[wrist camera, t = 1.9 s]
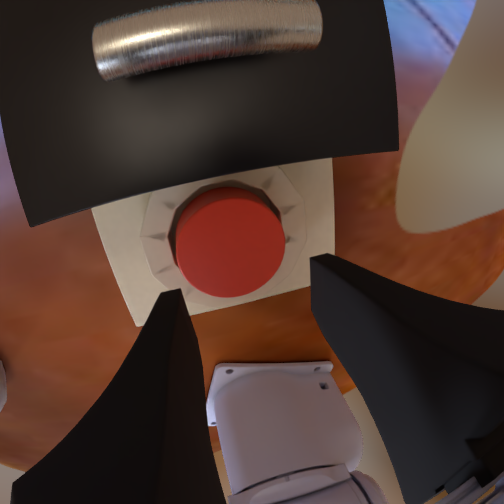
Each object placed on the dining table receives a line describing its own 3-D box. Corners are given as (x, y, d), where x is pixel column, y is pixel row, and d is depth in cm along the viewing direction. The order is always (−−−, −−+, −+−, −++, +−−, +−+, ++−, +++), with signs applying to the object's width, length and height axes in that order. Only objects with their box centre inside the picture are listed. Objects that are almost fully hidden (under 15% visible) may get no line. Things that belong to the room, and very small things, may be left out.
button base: (327, 271, 19) (348, 295, 16) (137, 316, 17) (134, 348, 15) (321, 129, 15) (348, 135, 12) (88, 176, 13) (70, 191, 11)
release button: (277, 265, 15) (289, 284, 13) (188, 286, 14) (191, 308, 13) (267, 177, 13) (281, 187, 11) (165, 198, 12) (163, 212, 11)
